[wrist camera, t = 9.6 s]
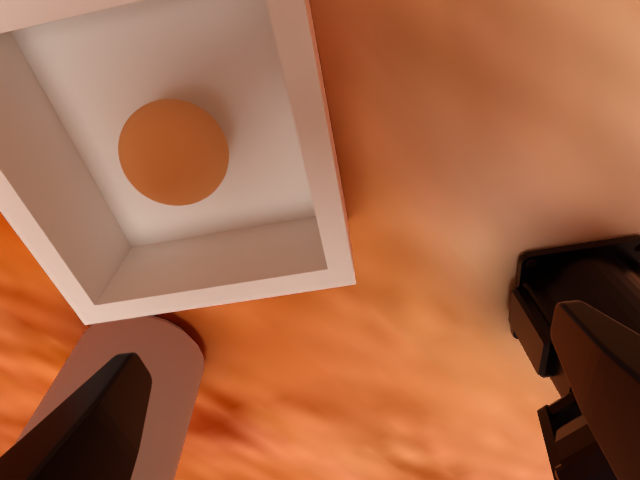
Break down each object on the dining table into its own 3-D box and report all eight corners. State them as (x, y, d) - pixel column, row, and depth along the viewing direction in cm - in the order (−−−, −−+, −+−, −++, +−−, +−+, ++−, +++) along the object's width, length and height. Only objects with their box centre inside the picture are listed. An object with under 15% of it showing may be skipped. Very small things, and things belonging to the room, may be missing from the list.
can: (60, 320, 25) (-111, 562, 15) (170, 290, 23) (64, 533, 13) (130, 391, 29) (33, 618, 19) (227, 369, 27) (178, 600, 17)
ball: (218, 77, 16) (193, 107, 13) (247, 169, 18) (233, 215, 15) (124, 97, 16) (75, 131, 13) (163, 184, 18) (131, 233, 15)
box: (296, -71, 14) (289, -85, 10) (347, 220, 21) (356, 284, 16) (-17, 4, 15) (-142, 20, 11) (128, 256, 22) (84, 325, 18)
